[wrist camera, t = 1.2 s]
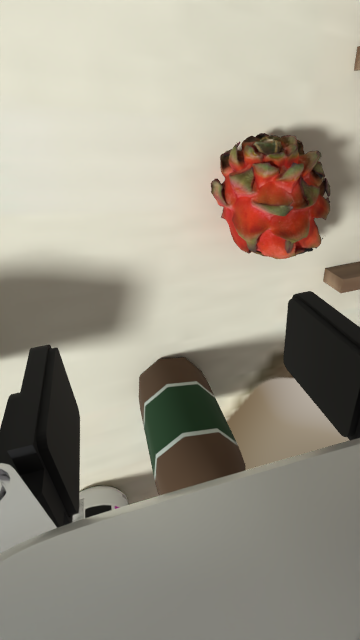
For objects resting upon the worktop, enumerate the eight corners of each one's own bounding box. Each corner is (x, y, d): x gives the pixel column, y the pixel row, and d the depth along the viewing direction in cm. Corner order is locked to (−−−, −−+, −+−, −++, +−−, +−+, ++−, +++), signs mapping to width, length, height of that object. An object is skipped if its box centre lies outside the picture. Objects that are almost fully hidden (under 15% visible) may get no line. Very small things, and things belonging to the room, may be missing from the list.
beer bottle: (153, 345, 36) (244, 636, 16) (214, 363, 39) (354, 622, 19) (124, 400, 39) (170, 707, 19) (183, 412, 42) (277, 684, 22)
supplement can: (138, 487, 47) (158, 622, 34) (109, 524, 49) (118, 662, 37) (82, 477, 43) (83, 624, 31) (54, 517, 46) (43, 668, 33)
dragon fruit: (210, 123, 28) (273, 220, 36) (169, 203, 26) (246, 289, 33) (310, 77, 22) (361, 206, 30) (269, 176, 20) (336, 289, 27)
